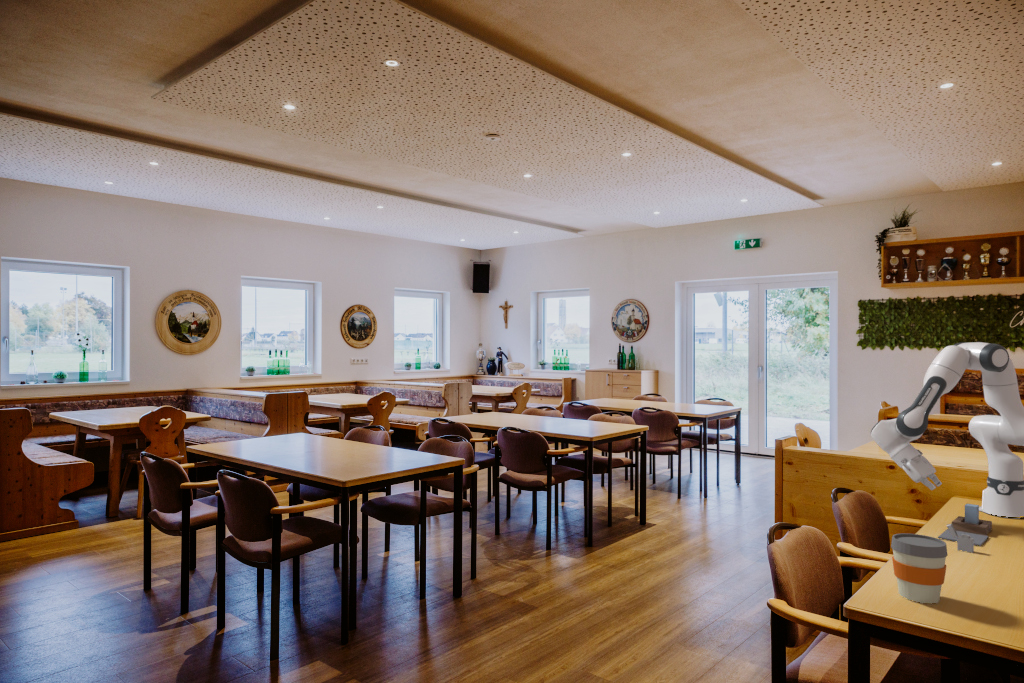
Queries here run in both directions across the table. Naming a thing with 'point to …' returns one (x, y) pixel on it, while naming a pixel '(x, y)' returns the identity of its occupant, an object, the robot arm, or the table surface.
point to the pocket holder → (972, 526)
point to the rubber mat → (977, 538)
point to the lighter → (962, 540)
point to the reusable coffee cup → (919, 566)
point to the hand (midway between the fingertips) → (937, 487)
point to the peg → (972, 514)
